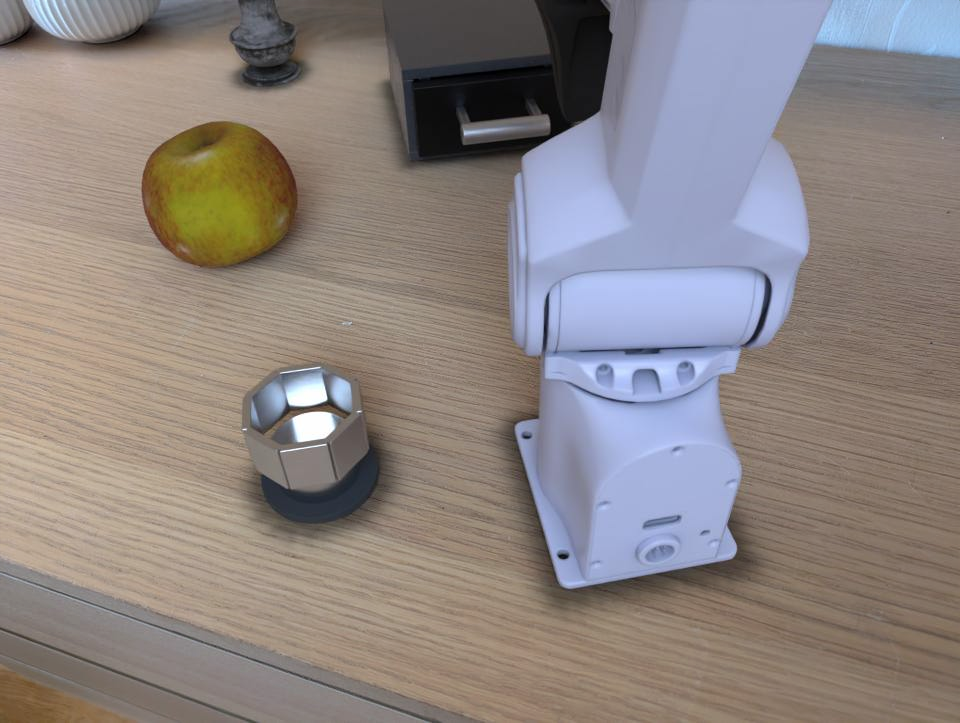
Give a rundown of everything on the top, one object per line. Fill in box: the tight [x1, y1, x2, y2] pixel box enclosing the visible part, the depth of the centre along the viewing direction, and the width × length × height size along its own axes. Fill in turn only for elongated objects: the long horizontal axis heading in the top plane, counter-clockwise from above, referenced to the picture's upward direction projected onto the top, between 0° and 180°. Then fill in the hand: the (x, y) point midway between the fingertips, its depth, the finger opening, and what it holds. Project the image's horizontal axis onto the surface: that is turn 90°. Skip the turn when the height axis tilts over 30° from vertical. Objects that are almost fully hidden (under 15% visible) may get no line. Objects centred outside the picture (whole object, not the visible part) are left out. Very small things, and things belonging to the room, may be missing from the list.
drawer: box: [411, 64, 571, 158], centre depth 62 cm, size 17×11×5 cm
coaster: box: [260, 441, 380, 525], centre depth 39 cm, size 6×6×1 cm
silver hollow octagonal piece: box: [241, 361, 370, 503], centre depth 38 cm, size 5×5×5 cm
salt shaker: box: [228, 0, 302, 87], centre depth 69 cm, size 6×6×12 cm
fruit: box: [141, 120, 298, 268], centre depth 51 cm, size 10×9×8 cm
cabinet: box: [381, 0, 575, 162], centre depth 64 cm, size 14×13×7 cm
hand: (581, 115), depth 46 cm, fingers closed
